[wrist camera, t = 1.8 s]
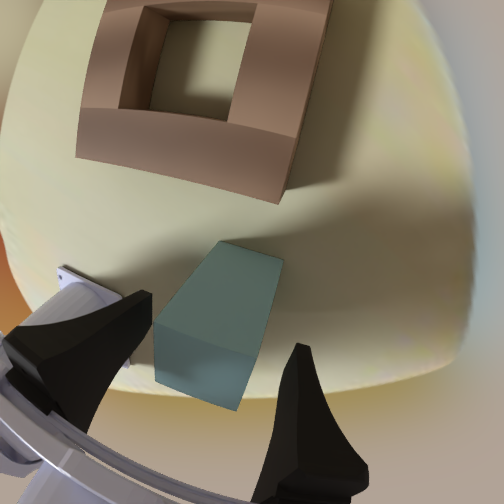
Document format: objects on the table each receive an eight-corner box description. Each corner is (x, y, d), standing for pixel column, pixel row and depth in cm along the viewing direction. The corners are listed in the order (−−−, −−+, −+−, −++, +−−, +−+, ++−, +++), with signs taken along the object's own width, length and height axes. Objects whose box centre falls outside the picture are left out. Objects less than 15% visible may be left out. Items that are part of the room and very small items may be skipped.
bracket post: (267, 312, 18) (236, 411, 11) (209, 293, 19) (155, 381, 12) (283, 260, 16) (256, 358, 9) (219, 240, 17) (153, 321, 10)
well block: (285, 190, 15) (278, 204, 12) (106, 150, 16) (75, 157, 13) (334, -5, 9) (337, -30, 7) (143, -12, 10) (118, -26, 8)
